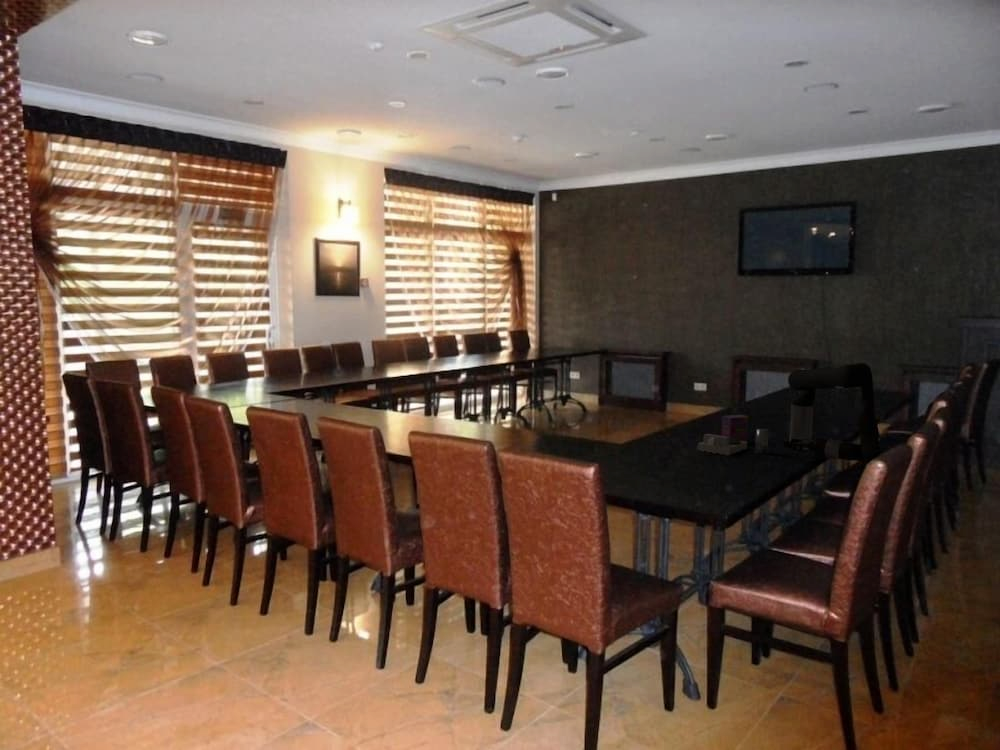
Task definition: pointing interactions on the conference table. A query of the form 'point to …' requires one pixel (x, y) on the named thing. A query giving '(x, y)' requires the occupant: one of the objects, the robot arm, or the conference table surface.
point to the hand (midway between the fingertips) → (787, 442)
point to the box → (735, 426)
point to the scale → (721, 444)
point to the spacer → (761, 441)
